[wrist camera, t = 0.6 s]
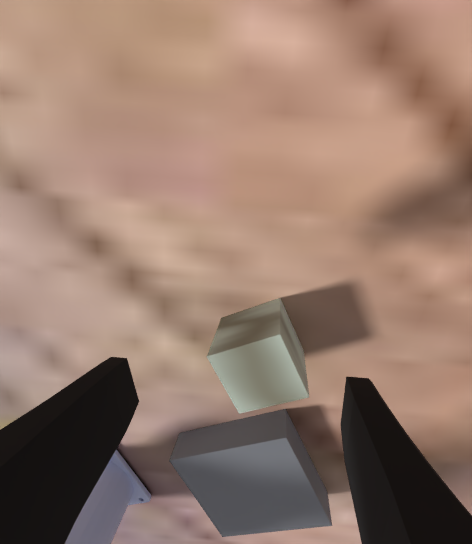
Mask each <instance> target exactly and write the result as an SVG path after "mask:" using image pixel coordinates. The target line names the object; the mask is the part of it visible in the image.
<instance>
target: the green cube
mask: <svg viewBox="0 0 472 544" xmlns="http://www.w3.org/2000/svg"><path fill="white" fill-rule="evenodd" d="M207 358H208V360H209V361H210V363H211V365H212V367H213V368H214V370H215V372H216V374H217V375H218V377H219V379H220V381H221V382H222V384H223V386H224V388H225V390H226V391H227V393H228V395H229V397H230V398H231V400H232V402H233V404H234V405H235V407H236V409H237V411H238V412H239V414H240V413H244V412H248V411H253V410H257V409H261V408H265V407H270V406H274V405H278V404H283V403H287V402H291V401H295V400H300V399H304V398H308V397H309V391H308V382H307V374H306V366H305V357H304V350H303V348H302V346H301V343H300V341H299V339H298V337H297V334H296V332H295V330H294V328H293V325H292V323H291V321H290V319H289V316H288V314H287V312H286V310H285V308H284V305H283V303H282V301H281V299H280V298H278V299H275V300H272V301H269V302H266V303H264V304H261V305H258V306H255V307H252V308H249V309H246V310H243V311H240V312H237V313H234V314H231V315H229V316H226V317H223V318H221V320H220V323H219V326H218V328H217V331H216V334H215V336H214V339H213V342H212V344H211V347H210V350H209V352H208V355H207Z"/></svg>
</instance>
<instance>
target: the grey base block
mask: <svg viewBox="0 0 472 544" xmlns="http://www.w3.org/2000/svg"><path fill="white" fill-rule="evenodd" d="M169 461H170V462H171V464H172V465H173V467H174V468H175V469H176V471H177V472H178V474H179V475H180V477H181V478H182V479H183V481H184V482H185V484H186V485H187V487H188V488H189V489H190V491H191V492H192V494H193V495H194V497H195V498H196V500H197V501H198V502H199V504H200V505H201V507H202V508H203V510H204V511H205V512H206V514H207V515H208V517H209V518H210V520H211V521H212V522H213V524H214V525H215V527H216V528H217V530H218V531H219V532H220V534H221V535H222V537H226V536H236V535H246V534H255V533H265V532H275V531H284V530H294V529H304V528H314V527H323V526H332V522H331V515H330V508H329V500H328V493H327V490H326V488H325V486H324V484H323V482H322V480H321V478H320V476H319V474H318V472H317V470H316V468H315V466H314V464H313V462H312V460H311V458H310V456H309V454H308V452H307V450H306V448H305V446H304V444H303V442H302V440H301V438H300V436H299V434H298V432H297V430H296V428H295V427H294V425H293V423H292V421H291V419H290V417H289V415H288V413H287V411H286V409H283V410H278V411H274V412H270V413H265V414H261V415H256V416H252V417H248V418H243V419H239V420H234V421H230V422H226V423H221V424H217V425H212V426H208V427H204V428H199V429H195V430H190V431H186V432H182V433H180V434H179V436H178V439H177V442H176V444H175V447H174V450H173V452H172V455H171V458H170V460H169Z"/></svg>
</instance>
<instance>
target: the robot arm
mask: <svg viewBox="0 0 472 544" xmlns="http://www.w3.org/2000/svg"><path fill="white" fill-rule="evenodd" d="M138 403H139V400H138V396H137V393H136V389H135V386H134V382H133V378H132V375H131V371H130V368H129V364H128V360H127V358H117V357H110V358H109V359H107V360H106V361H104V362H102V363H101V364H99V365H98V366H96V367H95V368H93V369H92V370H90V371H89V372H87V373H86V374H84V375H83V376H82V377H80V378H79V379H77V380H76V381H74V382H73V383H71V384H70V385H68V386H67V387H65V388H64V389H62V390H61V391H60V392H58V393H57V394H55V395H54V396H52V397H51V398H49V399H48V400H46V401H45V402H43V403H42V404H40V405H39V406H37V407H35V408H34V409H32V410H31V411H29V412H28V413H26V414H24V415H23V416H21V417H20V418H18V419H17V420H15V421H14V422H12V423H10V424H9V425H7V426H6V427H4V428H2V429H1V430H0V544H111V542H112V540H113V538H114V535H115V533H116V531H117V529H118V526H119V524H120V522H121V520H122V517H123V515H124V513H125V511H126V508H127V506H128V505H132V504H138V503H145V502H149V501H150V499H151V494H150V493H149V492H148V490H147V489H146V488H145V486H144V485H143V484H142V482H141V481H140V480H139V478H138V477H137V476H136V474H135V473H134V472H133V471H132V469H131V468H130V467H129V465H128V464H127V463H126V461H125V460H124V459H123V457H122V456H121V455H120V453H119V452H118V451H117V450H116V449H117V447H118V445H119V444H120V442H121V440H122V438H123V436H124V435H125V433H126V431H127V429H128V426H129V424H130V422H131V420H132V417H133V415H134V412H135V410H136V407H137V405H138ZM341 433H342V442H343V451H344V459H345V465H346V470H347V475H348V480H349V485H350V489H351V494H352V499H353V504H354V508H355V513H356V518H357V522H358V527H359V532H360V537H361V541H362V544H472V515H471V514H470V513H469V512H468V511H467V509H466V508H465V507H464V506H463V505H462V503H461V502H460V501H459V500H458V499H457V498H456V496H455V495H454V494H453V493H452V491H451V490H450V489H449V488H448V486H447V485H446V484H445V483H444V482H443V480H442V479H441V478H440V477H439V475H438V474H437V473H436V472H435V470H434V469H433V468H432V466H431V465H430V464H429V463H428V461H427V460H426V459H425V457H424V456H423V455H422V453H421V452H420V451H419V449H418V448H417V447H416V445H415V444H414V443H413V441H412V440H411V439H410V437H409V436H408V435H407V433H406V432H405V430H404V429H403V428H402V426H401V425H400V423H399V422H398V421H397V419H396V418H395V416H394V415H393V413H392V412H391V410H390V409H389V408H388V406H387V405H386V403H385V402H384V400H383V399H382V397H381V395H380V394H379V392H378V391H377V389H376V388H375V386H374V384H373V383H372V382H371V381H370V380H369V378H357V377H346V385H345V393H344V401H343V409H342V418H341Z"/></svg>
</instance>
